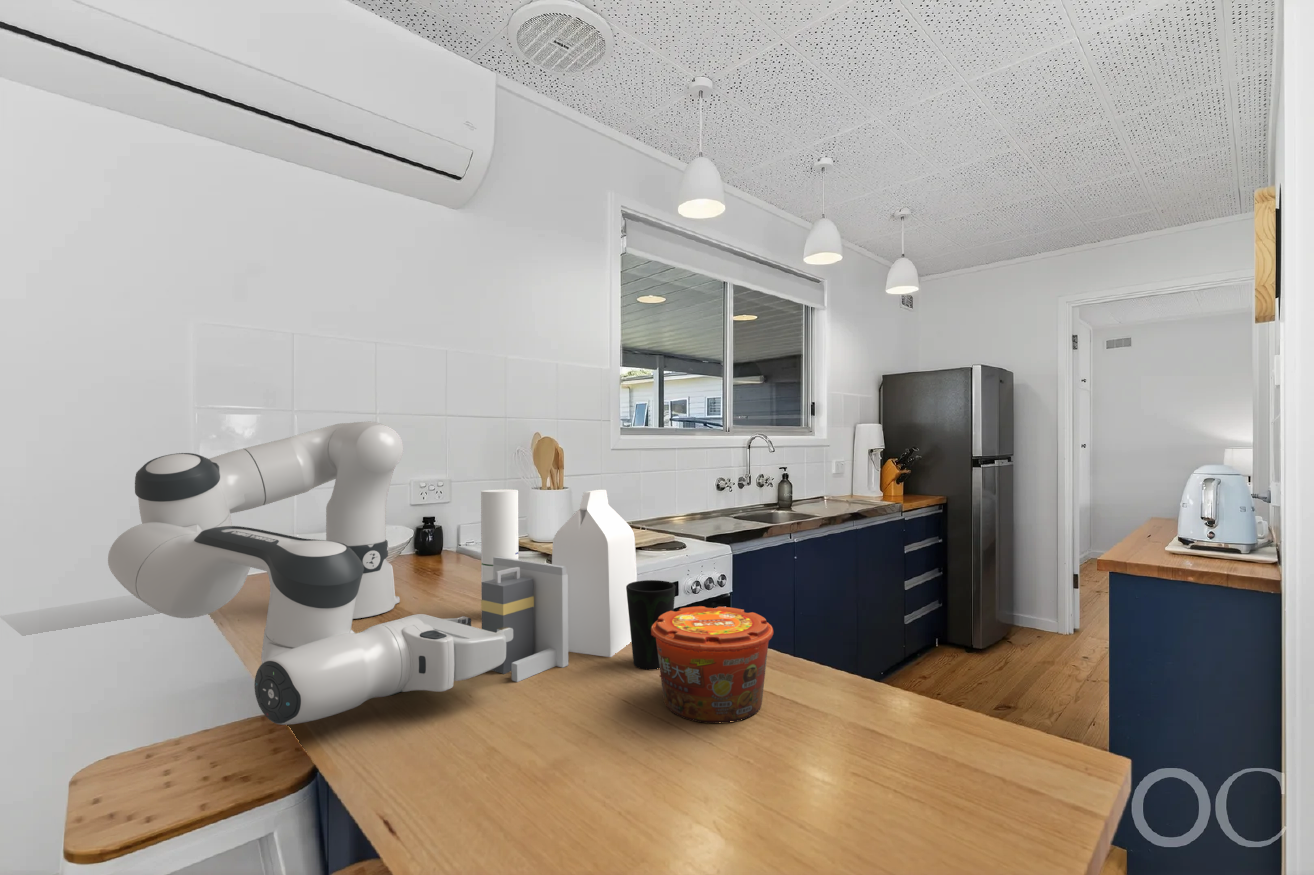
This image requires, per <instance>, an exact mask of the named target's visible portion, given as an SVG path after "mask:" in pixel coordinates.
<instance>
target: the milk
mask: <svg viewBox="0 0 1314 875" xmlns="http://www.w3.org/2000/svg"><path fill="white" fill-rule="evenodd" d="M582 493H583V494H582V495H581V496H582V498H581V502H580V504H579V505H580V506H579V509H578V510H577V511H575V512H574V514H572V516H571V517H570V518H569V519H568V520H567V521H566V522H565V523H564V524H563V525H562V526H561V527H560V528H559V529H558V530H557V532H556V533H555V534H554V537H553V539H552V551H551V552H552V553H551V554H552V555H551V565H558V566H564V567H566V574H568V653H569V652H571V653H577V654H582V655H583V654H584V655H590V656H591V655H593V656H598V657H606V658H612V657H613V656H615V655H616V654H617V653H619V652H620V651H621V650H622V649H624V648H625V647H627V646H629V644H630V642H631V632H630V622H629V611H628V601H627V591H626V586H627V585H628V584H629V583H632V582H636V581H638V572H637V571H638V570H637V555H636V539H635V533H634V531H633V529H632V527H631V526H630V525H629V523H627V521H626V520H625V519H624V518H623V517H622V516H621V515H620V514H618V513H617V511H616V510H615V509H613V507H611V506H610V504H609V498H608V493H607V489H594V490H589V491H583V492H582ZM631 643H632V642H631ZM626 645H627V646H626ZM615 653H616V654H615Z"/></svg>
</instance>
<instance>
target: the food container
mask: <svg viewBox="0 0 1314 875" xmlns="http://www.w3.org/2000/svg"><path fill="white" fill-rule="evenodd" d="M651 635H652V636H653V637H656V643H657V651H658V658H659V666H660V669H659V671H660V672H659V673H660V681H661V687H662V688H661V690H662V698H663V703H664V705H665V706H666V708H667V709H668V710H669V711H670V712H672V713H673V714H675V715H676V716H679V717H681V718H683V717H684V718H683V719H686V720H688V719H689V721H692V720H693V722H697V721H699V722H698V723H704V722H707V724H708V723H709V724H723V723H722V722H728V723H730V721H736V722H738V721H737V720H740V721H742V720H741V719H744V718H746V719H747V717H748V718H750V717H752V716H754V715H755V714H757V713H758V712H759V711H760V710H761V708H762V705H763V697H764V686H765V677H766V668H767V667H766V666H767V658H768V652H769V651H768V649H769V642H770V640H771V639H772V638H773V635H774V627H773V625H772V624H770V623H769V622H767V619H766V618H765V617H764V616H762V615H760V614H758V613H756V612H753V611H752V612H745V609H741V608H736V607H727V606H717V607H714V608H713V607H706V606H702V605H699V606H689V607H680V608H679V609H678V610H677V611H669V612H666V613H664V614H662V615H661V616H659V618H658V620H657V621H656V622H655V623H654V624H653V625H652V627H651ZM758 710H759V711H758ZM756 712H757V713H756ZM753 714H754V715H753ZM751 715H752V716H751ZM744 720H745V719H744ZM719 722H721V723H719Z"/></svg>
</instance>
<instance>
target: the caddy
mask: <svg viewBox="0 0 1314 875" xmlns="http://www.w3.org/2000/svg"><path fill="white" fill-rule="evenodd" d="M511 572H514V575H510V576H506V577H502V578H501V575H502V574H507V573H511ZM480 610H481V629H483V630H487V631H491V632H495V633H496V632H497V629H498V628H503V627H509V628H512V629H513V639H512V640H511V641H509V642H506V659H505V661H504V662H503V664H501V665H500V666H498V667H496V668H494V669H491V670H490V671H492V672H496V673H498V674H499V673H500V674H503V675H505V674H508V673H511V672H512V663H513V662H515V661H518V660H520V659H523V658H526V657H528V656H531V655H534V596H533V579H531V578H525V577H520V567H515V568H510V569H505V570H501V571H496V572H495V579H493V580H489V581H484V582H482V595H481V599H480Z"/></svg>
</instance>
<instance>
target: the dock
mask: <svg viewBox="0 0 1314 875" xmlns="http://www.w3.org/2000/svg"><path fill="white" fill-rule="evenodd" d="M515 567H520V577H525V578H531V579H533V596H534V655H531V656H528V657H526V658H523V659H520V660H518V661H515V662H513V663H512V671H511V681H513V682H516V683H519V682H520V681H524V680H526V679H528V678H531V677H533V676H536V675H538V674H539V673H543V672H544V671H547V670H550V669H552V668H554V667H559V668H565V667H568V666H569V652H568V574H566V567H564V566H558V565H552V563H544V562H543V563H542V562H537V561H530V560H524V559H519V558H518V559H511V558H504V557H498V556H497V557H493V579H495V572H496V571H501V570H505V569H510V568H515ZM510 575H514V572H511V573H507V574H502V575H501V578H502V577H506V576H510Z"/></svg>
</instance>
